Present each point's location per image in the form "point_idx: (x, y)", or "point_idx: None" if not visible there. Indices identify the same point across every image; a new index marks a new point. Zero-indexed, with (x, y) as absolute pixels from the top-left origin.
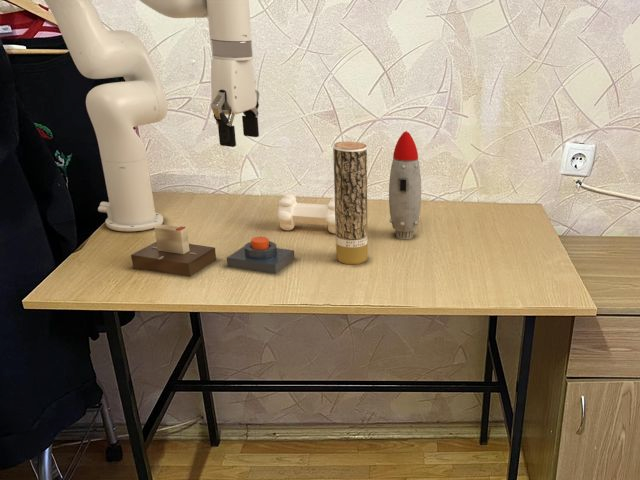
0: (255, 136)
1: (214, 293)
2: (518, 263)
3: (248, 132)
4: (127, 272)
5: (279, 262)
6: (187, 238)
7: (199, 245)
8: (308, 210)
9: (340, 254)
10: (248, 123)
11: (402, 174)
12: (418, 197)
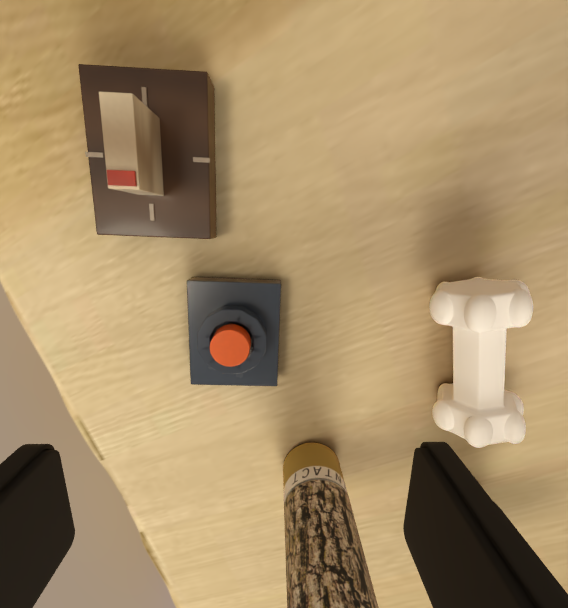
0: (406, 525)
1: (71, 314)
2: None
3: (423, 502)
4: (75, 82)
5: (209, 384)
6: (148, 192)
7: (207, 197)
8: (468, 364)
9: (286, 466)
10: (468, 596)
11: None
12: None
